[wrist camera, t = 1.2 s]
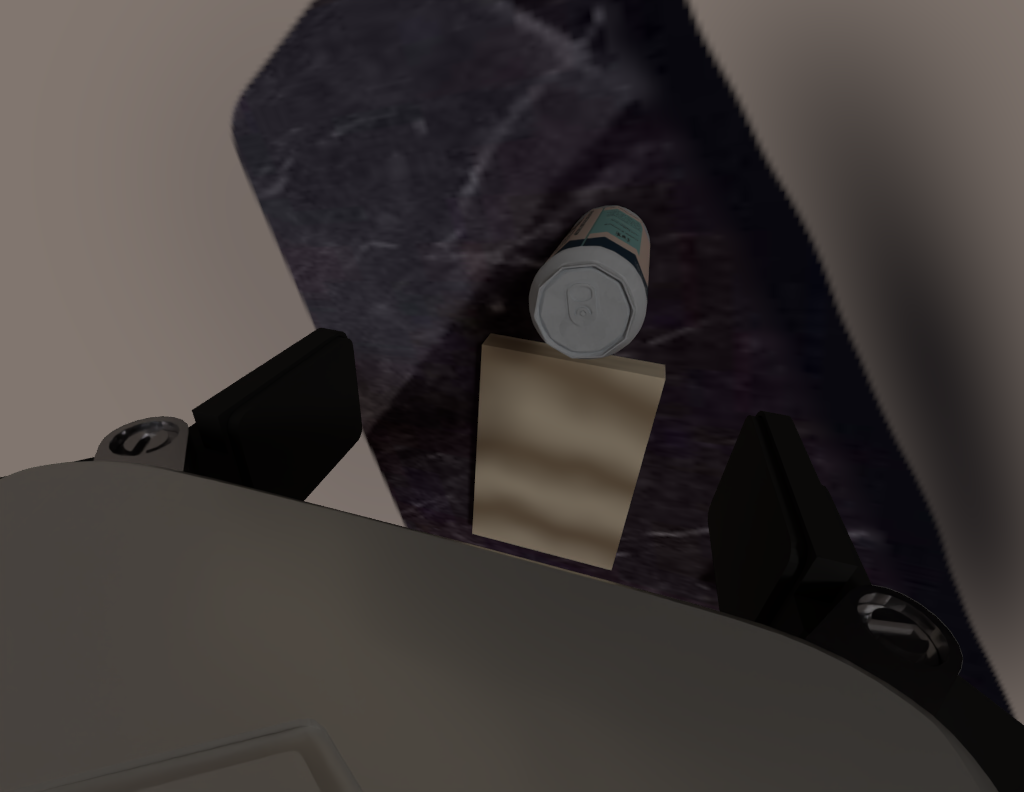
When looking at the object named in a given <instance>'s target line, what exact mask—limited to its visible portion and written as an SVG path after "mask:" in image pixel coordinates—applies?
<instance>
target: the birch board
mask: <svg viewBox="0 0 1024 792" xmlns="http://www.w3.org/2000/svg"><path fill="white" fill-rule="evenodd" d="M664 382H665V365H662V364H657V363H651V362H646V361H640V360H635V359H629V358H624V357H618V356H613V355H609V356H607V357H603V358H597V359H577V358H570V357H568V356H567V355H565V354H563V353H561V352H559V351H557V350H556V349H554V348H552V347H551V346H549V345H548V344H546V343H542V342H536V341H531V340H525V339H520V338H514V337H509V336H503V335H498V334H492V333H491V334H490V335H489V336H488V337H487V339H486V340H485V341H484V343H483V344H482V356H481V375H480V395H479V414H478V433H477V453H476V472H475V492H474V511H473V531H472V534H476V535H480V536H483V537H487V538H491V539H495V540H499V541H502V542H506V543H510V544H514V545H518V546H521V547H525V548H529V549H533V550H537V551H540V552H544V553H548V554H552V555H556V556H559V557H563V558H567V559H571V560H575V561H578V562H582V563H586V564H590V565H594V566H597V567H601V568H605V569H609V570H612V566H613V563H614V559H615V556H616V552H617V548H618V545H619V541H620V538H621V534H622V531H623V527H624V524H625V520H626V517H627V513H628V510H629V506H630V502H631V499H632V495H633V492H634V488H635V485H636V481H637V478H638V474H639V471H640V467H641V463H642V460H643V456H644V453H645V449H646V446H647V442H648V439H649V435H650V432H651V428H652V425H653V421H654V417H655V414H656V410H657V407H658V403H659V400H660V396H661V393H662V389H663V386H664Z"/></svg>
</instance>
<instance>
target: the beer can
mask: <svg viewBox="0 0 1024 792" xmlns="http://www.w3.org/2000/svg"><path fill="white" fill-rule="evenodd" d="M649 255H650V240H649V235H648V232H647V229H646V227H645V225H644V223H643V222H642V220H641V219H640V218H639V217H638V216H637V215H636V214H634V213H633V212H631V211H630V210H629V209H626V208H623V207H620V206H602V207H598V208H594V209H592V210H590V211H589V212H587V213H586V214H584V215H583V216H582V217H581V218H580V219H579V220H578V221H577V222H576V224H575V225H574V227H573V228H572V229H571V231H570V232H569V233H568V234H567V236H566V237H565V238H564V240H563V241H562V242H561V243H560V245H559V246H558V247H557V249H556V250H555V251H554V252H553V254H552V255H551V256H550V257H549V259H548V260H547V261H546V263H545V264H544V265H543V266H542V267H541V268H540V269H539V271H538V272H537V274H536V275H535V278H534V280H533V282H532V285H531V289H530V294H529V311H530V315H531V318H532V322H533V325H534V326H535V328H536V330H537V331H538V333H539V335H540V336H541V337H542V339H543V340H544V341H545V342H546V344H548V345H549V346H551V347H552V348H554V349H556V350H557V351H559V352H561V353H563V354H565V355H567V356H568V357H570V358H577V359H597V358H603V357H607V356H609V355H612V354H614V353H616V352H618V351H619V350H621V349H622V348H624V347H625V346H626V345H628V344H629V343H630V342H631V341H632V340H633V338H634V337H635V336H636V335H637V333H638V332H639V330H640V328H641V326H642V324H643V321H644V318H645V315H646V307H647V293H648V274H649Z"/></svg>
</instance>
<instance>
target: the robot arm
mask: <svg viewBox="0 0 1024 792" xmlns="http://www.w3.org/2000/svg"><path fill="white" fill-rule="evenodd" d="M192 412H193V415H194V418H195V421H196V423H195V424H193V425H192V426H190V427H188V425H187V423H185V422H184V421H183V420H181V419H178V418H175V417H164V416H162V417H151V418H146V419H142V420H137V421H135V422H132V423H129V424H126V425H123V426H122V427H120V428H118V429H116V430H114V431H112V432H111V433H110V434H109V435H107V436H106V437H105V438H104V439H103V441H102V442H101V443H100V445H99V447H98V450H97V453H96V455H95V457H93V458H88V459H84V460H79V461H75V462H66V463H58V464H51V465H45V466H39V467H33V468H29V469H26V470H22V471H19V472H17V473H14V474H11V475H9V476H6V477H1V478H0V792H1024V725H1022V724H1021V723H1020V722H1019V721H1017V720H1016V719H1015V718H1013V717H1012V716H1011V715H1010V714H1008V713H1007V712H1006V711H1004V710H1003V709H1002V708H1000V707H999V706H998V705H997V704H995V703H994V702H993V701H991V700H990V699H989V698H988V697H986V696H985V695H984V694H982V693H981V692H980V691H978V690H977V689H976V688H975V687H973V686H972V685H971V684H969V683H968V682H967V681H965V680H964V679H963V678H962V677H960V676H959V675H958V674H959V672H960V670H961V667H962V662H963V656H962V653H961V650H960V646H959V644H958V642H957V641H956V639H955V638H954V636H953V635H952V633H951V632H950V630H949V629H948V628H947V627H946V626H945V625H944V624H943V623H942V622H941V621H940V620H939V619H938V618H937V617H936V616H935V615H934V614H933V613H931V612H930V611H929V610H927V609H926V608H925V607H923V606H922V605H921V604H920V603H918V602H916V601H914V600H912V599H911V598H909V597H907V596H905V595H904V594H902V593H899V592H896V591H894V590H891V589H889V588H886V587H881V586H875V585H871V582H870V580H869V578H868V576H867V574H866V572H865V569H864V567H863V565H862V563H861V561H860V558H859V556H858V554H857V552H856V550H855V548H854V545H853V543H852V541H851V539H850V537H849V535H848V532H847V530H846V528H845V526H844V524H843V522H842V519H841V517H840V515H839V513H838V511H837V508H836V506H835V504H834V502H833V500H832V498H831V495H830V493H829V491H828V490H827V488H826V487H825V486H823V485H822V484H821V483H820V481H819V478H818V476H817V474H816V472H815V470H814V467H813V465H812V463H811V461H810V458H809V456H808V454H807V452H806V449H805V447H804V445H803V443H802V441H801V438H800V436H799V434H798V432H797V429H796V427H795V425H794V423H793V420H792V419H791V417H790V416H786V415H781V414H775V413H770V412H765V411H760V412H758V414H757V415H756V416H750V415H749V416H748V417H747V418H746V420H745V422H744V424H743V427H742V429H741V431H740V434H739V436H738V439H737V441H736V444H735V446H734V449H733V451H732V453H731V456H730V458H729V461H728V463H727V466H726V468H725V471H724V473H723V475H722V478H721V480H720V483H719V485H718V488H717V490H716V493H715V495H714V497H713V500H712V502H711V505H710V508H709V513H708V526H709V533H710V541H711V549H712V556H713V564H714V571H715V579H716V587H717V594H718V602H719V609H720V611H716V610H713V609H710V608H706V607H703V606H700V605H696V604H693V603H690V602H686V601H682V600H678V599H674V598H671V597H667V596H663V595H659V594H656V593H652V592H648V591H645V590H641V589H637V588H633V587H630V586H626V585H622V584H618V583H615V582H611V581H607V580H603V579H600V578H596V577H592V576H588V575H585V574H581V573H577V572H573V571H570V570H566V569H562V568H558V567H555V566H551V565H547V564H543V563H540V562H536V561H532V560H528V559H525V558H521V557H517V556H513V555H510V554H506V553H502V552H498V551H494V550H491V549H487V548H483V547H479V546H475V545H471V544H468V543H464V542H460V541H456V540H452V539H449V538H445V537H441V536H437V535H433V534H429V533H426V532H422V531H418V530H414V529H410V528H406V527H402V526H398V525H395V524H391V523H387V522H383V521H379V520H375V519H372V518H367V517H363V516H360V515H356V514H352V513H348V512H344V511H340V510H336V509H332V508H328V507H324V506H321V505H316V504H312V503H309V502H305V501H304V500H305V499H306V498H307V497H308V496H309V495H310V494H311V492H312V491H313V490H314V489H315V488H316V487H317V486H318V485H319V483H320V482H321V481H322V480H323V479H324V478H325V477H326V476H327V475H328V474H329V472H330V471H331V470H332V469H333V468H334V467H335V466H336V465H337V463H338V462H339V461H340V460H341V459H342V458H343V457H344V456H345V455H346V453H347V452H348V451H349V450H350V449H351V448H352V447H353V446H354V444H355V443H356V442H357V441H358V440H359V438H360V436H361V432H362V422H361V413H360V404H359V395H358V386H357V377H356V368H355V359H354V351H353V344H352V341H351V340H350V339H347V336H346V334H345V333H344V332H341V331H336V330H331V329H325V328H319V329H317V330H315V331H314V332H312V333H311V334H309V335H308V336H306V337H304V338H303V339H301V340H300V341H299V342H297V343H295V344H294V345H292V346H291V347H289V348H287V349H286V350H284V351H283V352H281V353H280V354H278V355H277V356H275V357H273V358H272V359H270V360H269V361H267V362H266V363H264V364H263V365H261V366H259V367H258V368H256V369H255V370H254V371H252V372H250V373H249V374H247V375H246V376H244V377H242V378H241V379H239V380H238V381H236V382H235V383H233V384H232V385H230V386H229V387H227V388H226V389H224V390H222V391H221V392H219V393H218V394H216V395H215V396H213V397H212V398H210V399H209V400H207V401H205V402H204V403H202V404H201V405H199V406H198V407H196V408H195V409H193V410H192Z"/></svg>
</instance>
